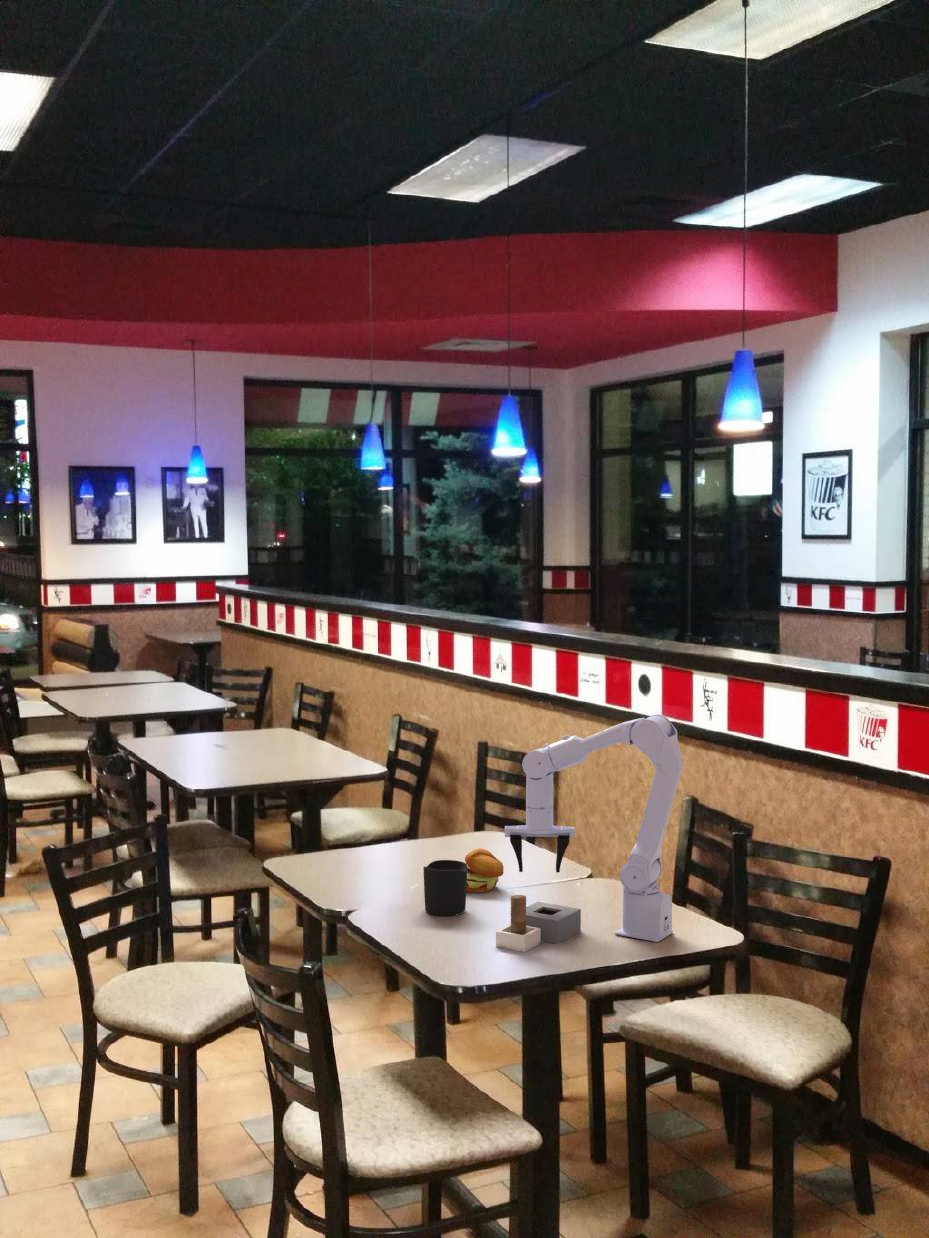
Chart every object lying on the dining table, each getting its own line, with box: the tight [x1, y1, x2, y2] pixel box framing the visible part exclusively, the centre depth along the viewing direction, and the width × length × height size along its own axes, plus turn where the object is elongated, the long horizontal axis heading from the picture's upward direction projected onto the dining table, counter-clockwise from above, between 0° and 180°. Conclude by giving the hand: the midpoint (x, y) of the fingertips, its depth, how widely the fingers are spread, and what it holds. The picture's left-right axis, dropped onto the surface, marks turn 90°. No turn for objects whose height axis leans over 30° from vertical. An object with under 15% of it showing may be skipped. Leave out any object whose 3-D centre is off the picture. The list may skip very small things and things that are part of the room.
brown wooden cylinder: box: [510, 894, 527, 935], centre depth 239 cm, size 3×3×9 cm
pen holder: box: [423, 859, 468, 917], centre depth 263 cm, size 9×9×10 cm
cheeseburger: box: [464, 848, 504, 893], centre depth 281 cm, size 10×11×10 cm
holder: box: [495, 923, 542, 953], centre depth 239 cm, size 6×6×3 cm
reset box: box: [526, 901, 582, 944], centre depth 247 cm, size 10×10×4 cm
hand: (539, 871), depth 256 cm, fingers open, 7 cm apart
